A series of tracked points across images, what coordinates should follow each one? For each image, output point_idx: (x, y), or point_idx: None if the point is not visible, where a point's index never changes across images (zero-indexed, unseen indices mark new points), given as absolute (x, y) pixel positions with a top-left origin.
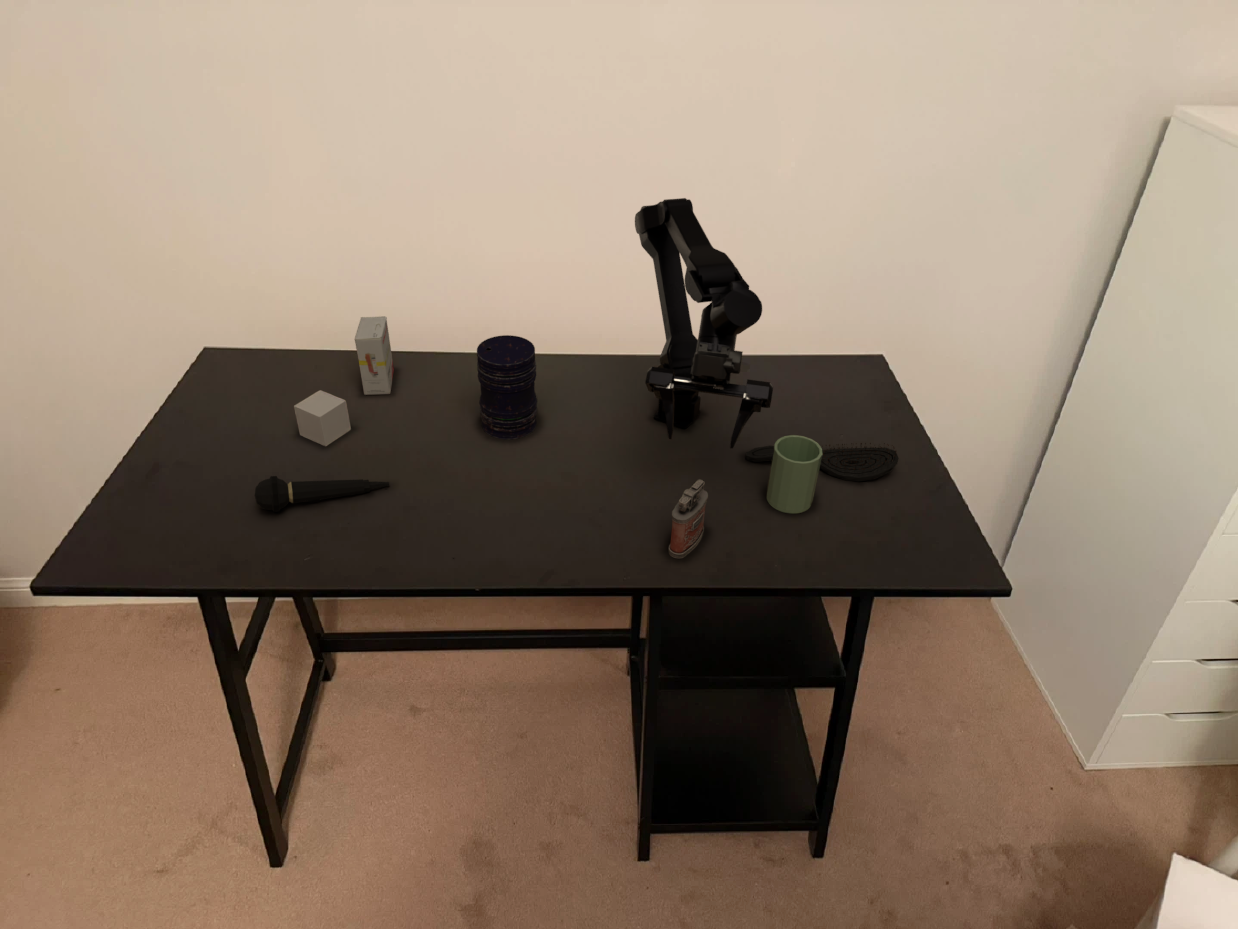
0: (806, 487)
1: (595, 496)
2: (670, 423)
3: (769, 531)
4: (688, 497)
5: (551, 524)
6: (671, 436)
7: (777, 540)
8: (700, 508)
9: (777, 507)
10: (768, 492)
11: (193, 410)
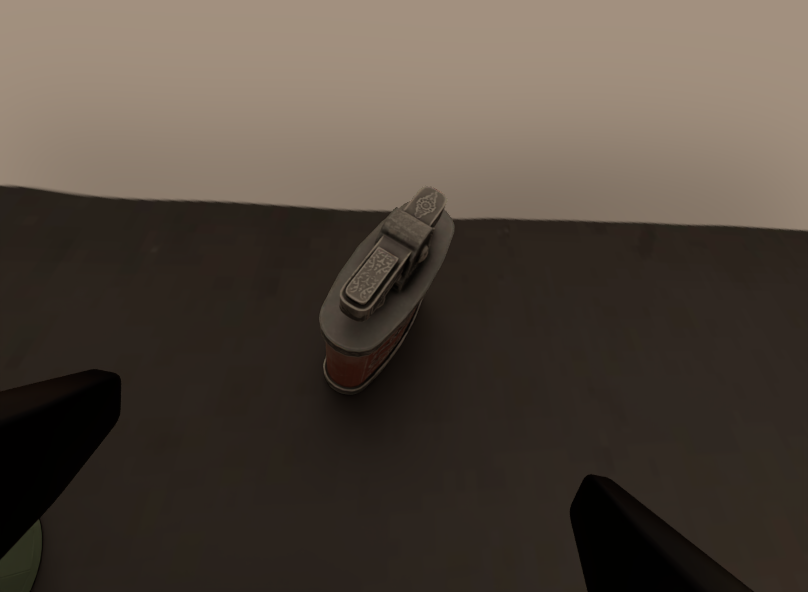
0: None
1: None
2: (695, 566)
3: None
4: (413, 212)
5: (700, 393)
6: (592, 486)
7: (105, 339)
8: (358, 247)
9: None
10: (11, 564)
11: None
